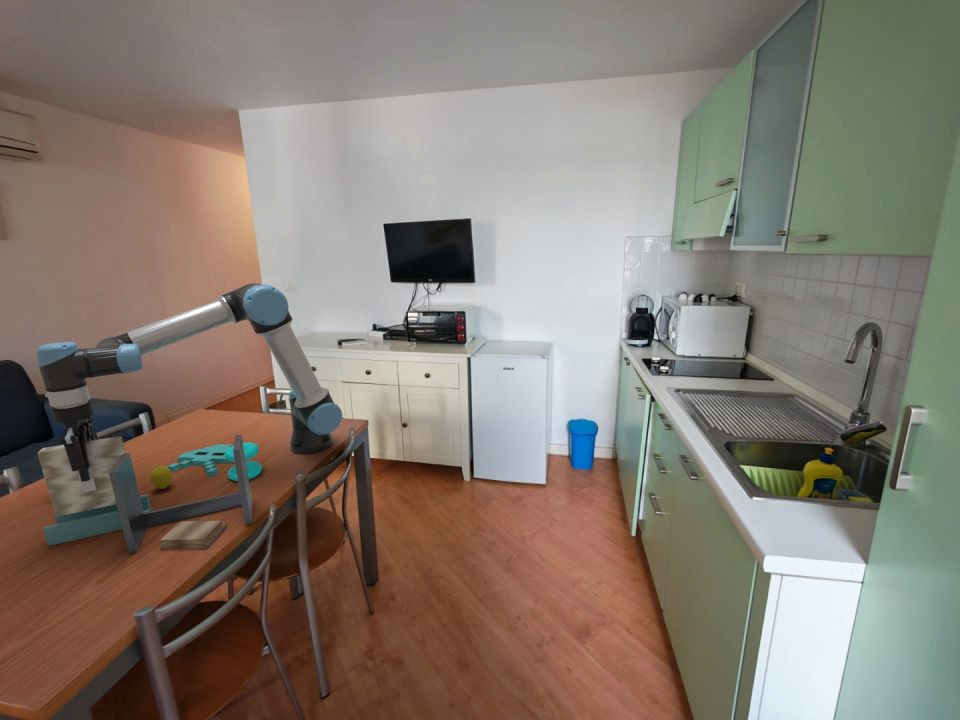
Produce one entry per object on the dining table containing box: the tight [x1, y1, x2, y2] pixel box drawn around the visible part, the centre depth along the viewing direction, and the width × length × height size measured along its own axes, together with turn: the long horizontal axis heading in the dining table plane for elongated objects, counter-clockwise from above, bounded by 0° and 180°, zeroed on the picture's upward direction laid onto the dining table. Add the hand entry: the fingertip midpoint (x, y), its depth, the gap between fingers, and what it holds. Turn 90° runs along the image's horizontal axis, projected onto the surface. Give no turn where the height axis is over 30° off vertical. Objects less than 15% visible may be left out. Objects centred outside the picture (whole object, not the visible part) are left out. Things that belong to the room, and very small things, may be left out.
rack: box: [109, 434, 254, 554], centre depth 114 cm, size 27×12×22 cm, turn 116°
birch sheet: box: [37, 435, 127, 517], centre depth 113 cm, size 16×3×18 cm, turn 116°
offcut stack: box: [159, 520, 228, 550], centre depth 112 cm, size 12×8×3 cm
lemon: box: [149, 465, 173, 490], centre depth 135 cm, size 6×6×8 cm
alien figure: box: [165, 443, 234, 477], centre depth 154 cm, size 20×2×20 cm
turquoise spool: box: [225, 442, 263, 482], centre depth 142 cm, size 10×10×10 cm
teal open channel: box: [42, 493, 152, 547], centre depth 117 cm, size 20×8×5 cm, turn 116°
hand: (92, 487), depth 114 cm, fingers closed on birch sheet, 3 cm apart
